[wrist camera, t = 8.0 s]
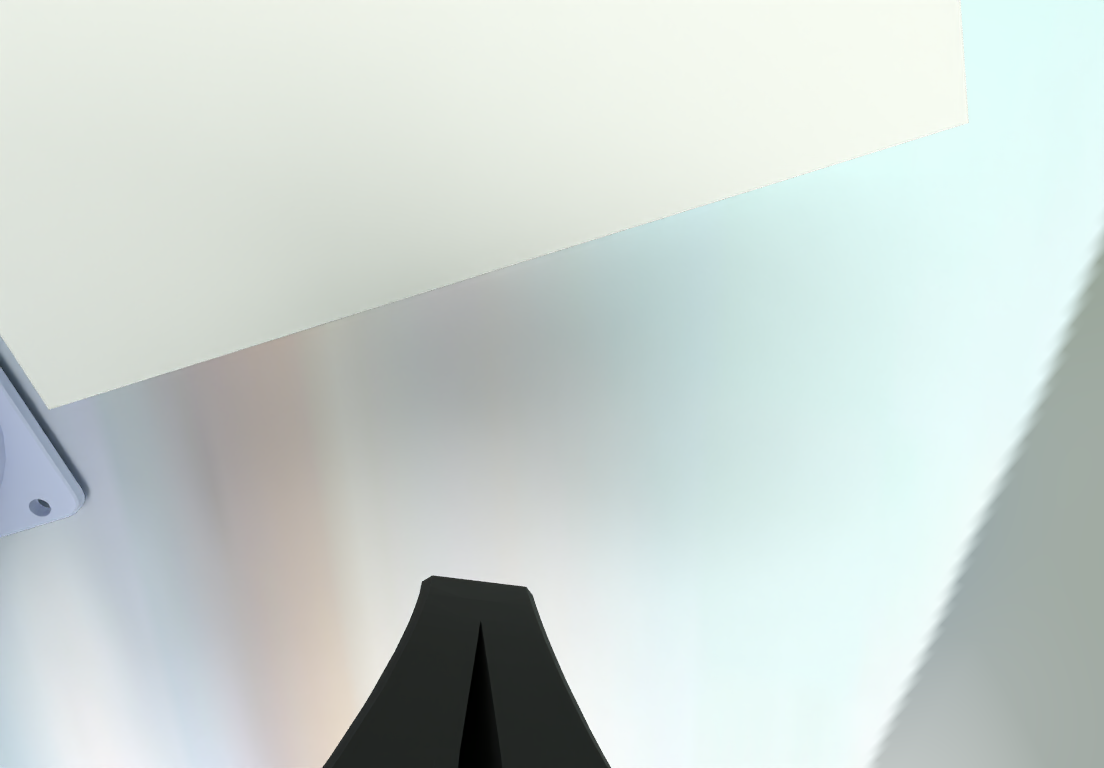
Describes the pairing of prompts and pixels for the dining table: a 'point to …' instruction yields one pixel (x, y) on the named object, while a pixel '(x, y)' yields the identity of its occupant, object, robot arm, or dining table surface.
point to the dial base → (397, 149)
